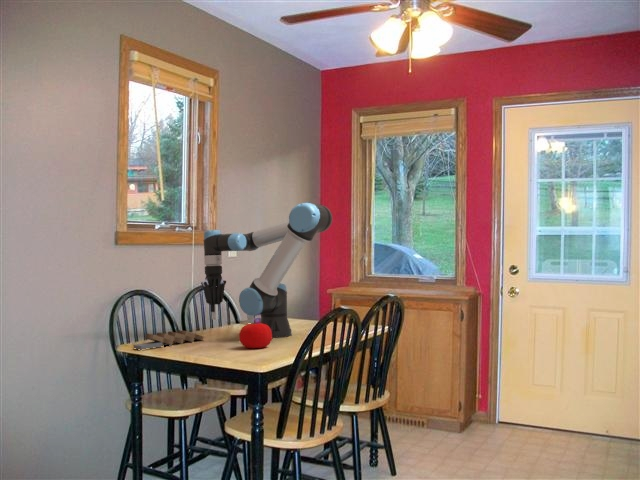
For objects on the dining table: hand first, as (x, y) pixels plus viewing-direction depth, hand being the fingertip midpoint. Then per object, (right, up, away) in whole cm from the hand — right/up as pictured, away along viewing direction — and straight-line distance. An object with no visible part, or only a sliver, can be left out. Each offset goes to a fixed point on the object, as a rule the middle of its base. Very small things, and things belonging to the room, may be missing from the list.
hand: (215, 319), depth 276 cm
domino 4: (-9, -7, -11) cm, 16 cm away
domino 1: (-19, -7, -23) cm, 31 cm away
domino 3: (-12, -7, -15) cm, 21 cm away
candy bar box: (+13, -9, +50) cm, 53 cm away
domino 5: (-6, -7, -7) cm, 11 cm away
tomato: (+21, -7, -33) cm, 40 cm away
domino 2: (-16, -7, -19) cm, 26 cm away
